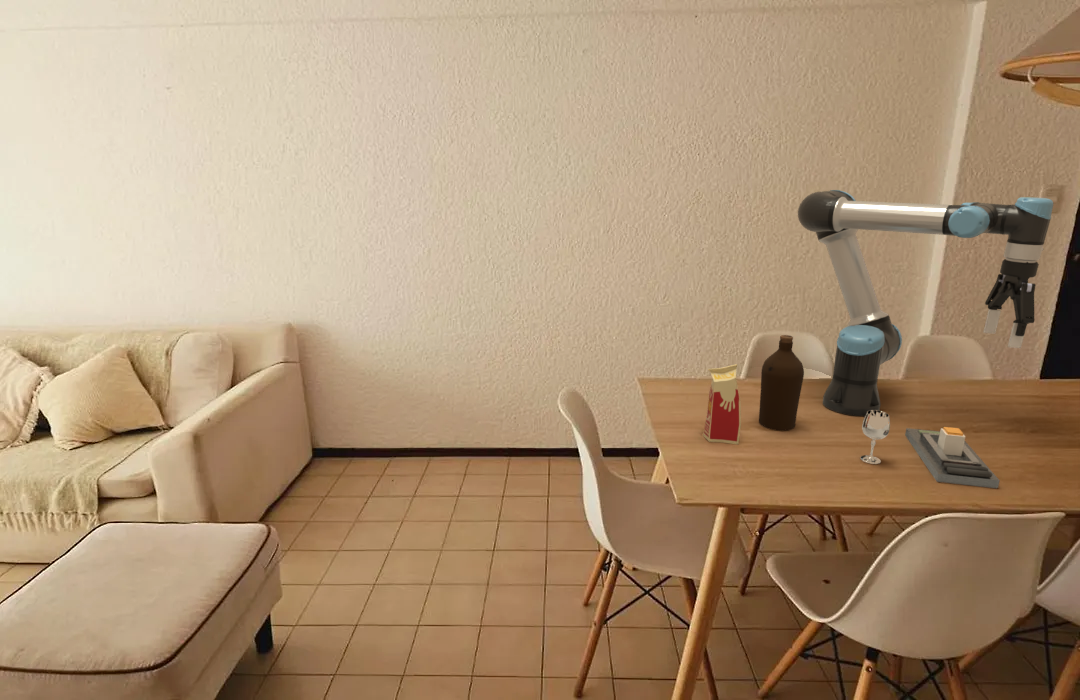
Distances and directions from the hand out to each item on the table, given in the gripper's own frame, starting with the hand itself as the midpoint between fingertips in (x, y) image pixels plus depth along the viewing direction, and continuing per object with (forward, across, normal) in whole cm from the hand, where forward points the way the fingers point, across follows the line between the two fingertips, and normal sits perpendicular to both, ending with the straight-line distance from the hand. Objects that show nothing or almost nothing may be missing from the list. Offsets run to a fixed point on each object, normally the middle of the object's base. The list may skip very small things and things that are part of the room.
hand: (1001, 340), depth 167 cm
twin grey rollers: (+22, -38, +19) cm, 47 cm away
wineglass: (+24, -30, +36) cm, 53 cm away
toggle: (+22, -26, +18) cm, 39 cm away
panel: (+24, -26, +18) cm, 40 cm away
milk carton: (+25, -23, +71) cm, 79 cm away
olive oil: (+25, -12, +55) cm, 62 cm away
